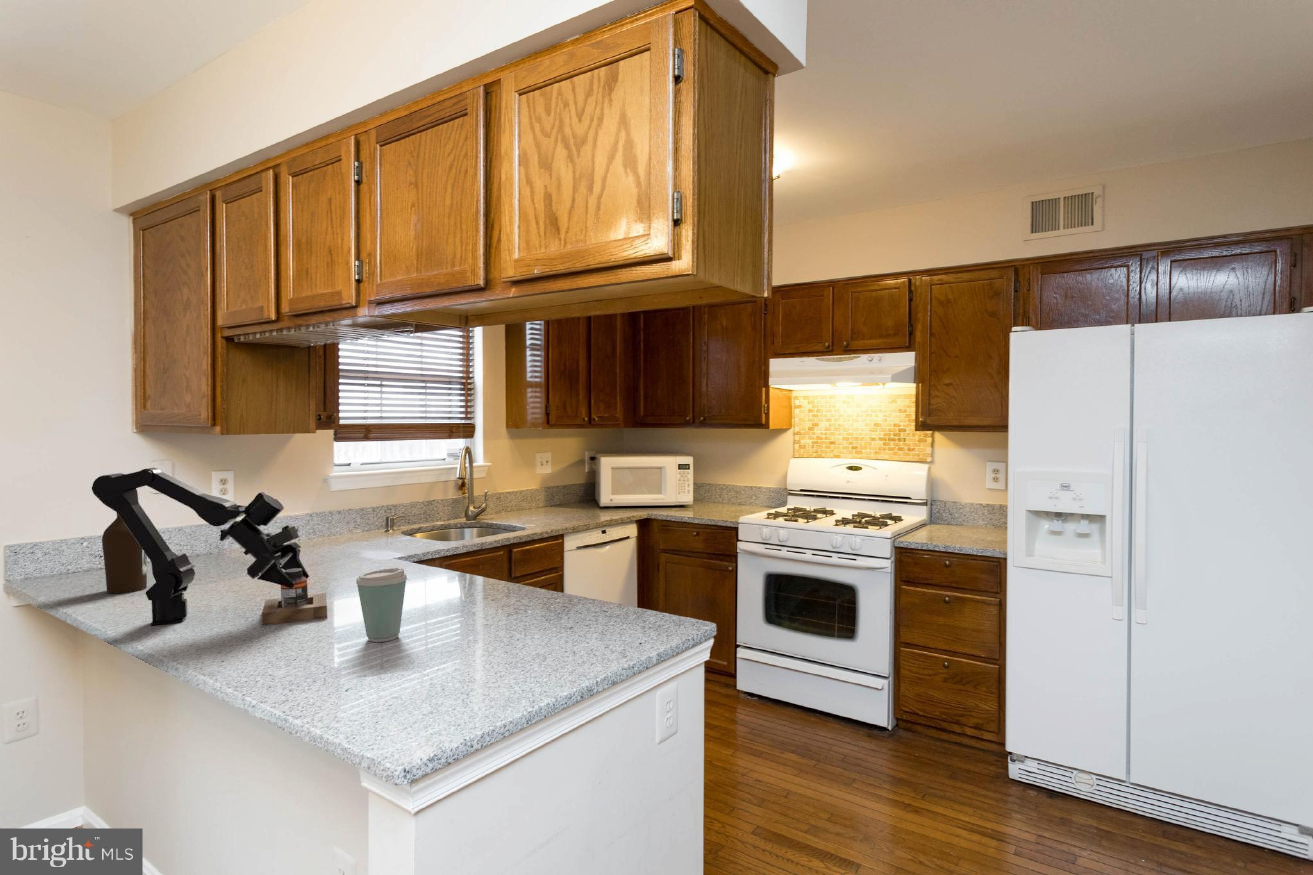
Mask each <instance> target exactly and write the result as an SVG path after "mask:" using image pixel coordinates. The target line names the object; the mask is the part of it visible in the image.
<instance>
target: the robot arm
mask: <svg viewBox="0 0 1313 875" xmlns="http://www.w3.org/2000/svg"><path fill="white" fill-rule="evenodd" d="M146 486H147V487H149V488H150V489H153V490H154V491H156V492H158V493H160V494H162V495H164V496H166V497H168V498H170V499H173V500H174V501H176V502H178V503H180V504H182V505H184V506H186V507H188V508H190V509H192V510H193V511H194V512H195V513H196V515H197V516H198V517H199V518H200V519H202V520H203V521H204V522H205V523H207V524H208V525H210V526H212V527H222V526H224V525H229V524H230V523H231V524H230V525H229V526H228V527H227V528H223V529H220V535H219V536H220V537H219V541H221V542H223V541H227V540H229V539H230V538H231V539H232V540H233V541H234V542H236V543H237V544H238V545H239V546H240V547H241V548H242V549H243V550H244V551H243V552H242V553H243V555H245V556H248V555H250V556H251V557H252V558H253V559H255V560H254V561H253V562H252V563H251V564H250V565H249V566H248V567H247V568H246V575H248V576H249V577H250V578H251V579H252V580H255V579H256V580H258V581H259V580H260V581H264V582H268V583H273V584H276V585H279V586H281V585H282V586H285V587H289V588H292V587H293V586H294V585H295V584H294V583H293V582H292V580H291V579H290V578H289V577H288V576H287V575H286V574H285V572H284V571H285V570H288V569H294V568H300V569H302V573H303V574H302V575H303V577H305V578H306V579H307V580H308V579H309V578H310V575H309V573H308V572H307V570H306V568H305V567H304V564H303V563H302V561H301V559H300V557H301V556H300V553H301V550H302V549H301V548H302V546H301V545H300V544H298V543H297V542H296V541H294V540H296V539H298V538H300V535H299V533H298V532H299V528H296V526H295V525H292V524H290V523H289V524H287V525H285V526H282V527H281V530H280V531H279V532H276V533H274V534H272V533H271V532H266V533H265V532H264V530H263V531H262V529H260V528H259V527H261V526H264V527H267V526H268V525H269V524H270V523H272V521H273V520H275V518H276V517H277V516H278V515H280V513H281V512H282V511H283V510H284V509H285V507H284V505H283V504H282V502H280V500H278V499H277V498H274V497H273V496H271V495H268V494H266V493H265V492H264V491H261V492H258V493H257V494H256V495H255V497H254V498H253V499H252V500H251V501H250V502H249V503H248V505H241V504H237V503H236V502H235V501H233V500H230V499H227V498H223V497H221V496H217V495H216V496H215V495H210V494H207V493H204V492H202V491H200V490H198V489H197V488H194V487H192V486H191V485H188V484H187V483H185V482H183V481H181V480H179V479H177V478H175V477H173V476H171V475H169V474H167V473H165V472H163V471H162V470H161V469H159V468H158V467H150V468H144V469H140V470H138V471H134V472H130V473H126V474H125V473H121V472H118V473H111V474H104V475H100V476H98V477H96V478H95V480H94V481H93V482H92V486H91V491H92V493H93V495H94V496H95V497H96V498H97V499H98V500H99V501H100V502H101V503H102V504H103V506H106V507H107V508H109V509H111V510H112V511H113V512H115V513H116V514H117V513H118V515H119V516H120V518H121V519H122V520H123V522H124V523H125V525H126V526H127V528H128V529H129V531H130V532H131V533H132V535H133V536H134V538H135V539H136V541H137V542H138V544H139V545H140V546H141V548H142V549H143V551H144V552H145V554H146V555H147V559H148V560H149V561H150V563H151V571H152V576H153V578H154V581H155V582H154V584H153V585H151V586H150V587H149V588H148V589H147V590H146V592H145V595H146V597H147V600H148V601H151V622H150V626H156V625H164V624H175V623H181V622H184V620H185V619H186V618H187V616H188V614H189V613H188V599H187V598H185V592H186V591H187V590H188V588H189V585H190V584H192V582H193V581H194V579H195V576H196V572H195V569H194V568H195V567H196V565H194V564H193V563H192V562H191V561H190V559H189V557H188V555H187V554H186V553H182V554H180V555H178V554H177V553H175V552H173V550H171V548H170V546H169V545H168V543H167V542H166V540H165V539H164V538H163V536H162V534H160V532H159V530H158V529H157V527H156V526H155V525H154V523H153V522H152V520H151V519H150V517H149V516H148V514H147V513H146V511H145V510H144V509H143V507H142V506H141V504H140V502H139V493H138V490H137V489H140V488H142V487H146ZM241 517H242V518H241ZM238 518H241V519H240V520H237V519H238Z"/></svg>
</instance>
